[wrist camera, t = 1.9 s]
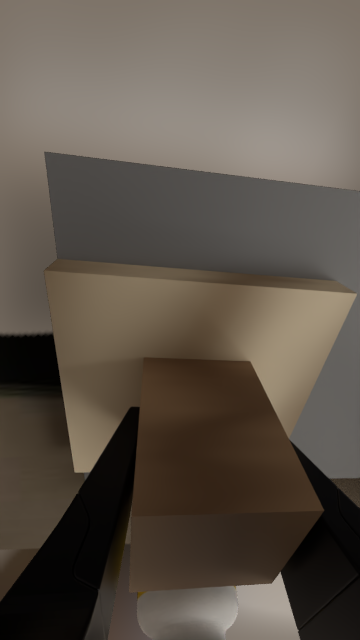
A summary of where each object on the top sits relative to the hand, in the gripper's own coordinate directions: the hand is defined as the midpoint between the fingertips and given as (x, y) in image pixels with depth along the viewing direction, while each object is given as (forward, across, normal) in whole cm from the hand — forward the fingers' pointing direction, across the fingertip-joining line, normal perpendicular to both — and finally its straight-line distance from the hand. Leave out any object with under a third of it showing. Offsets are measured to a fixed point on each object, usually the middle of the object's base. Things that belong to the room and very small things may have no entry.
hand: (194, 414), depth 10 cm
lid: (+2, 0, 0) cm, 2 cm away
